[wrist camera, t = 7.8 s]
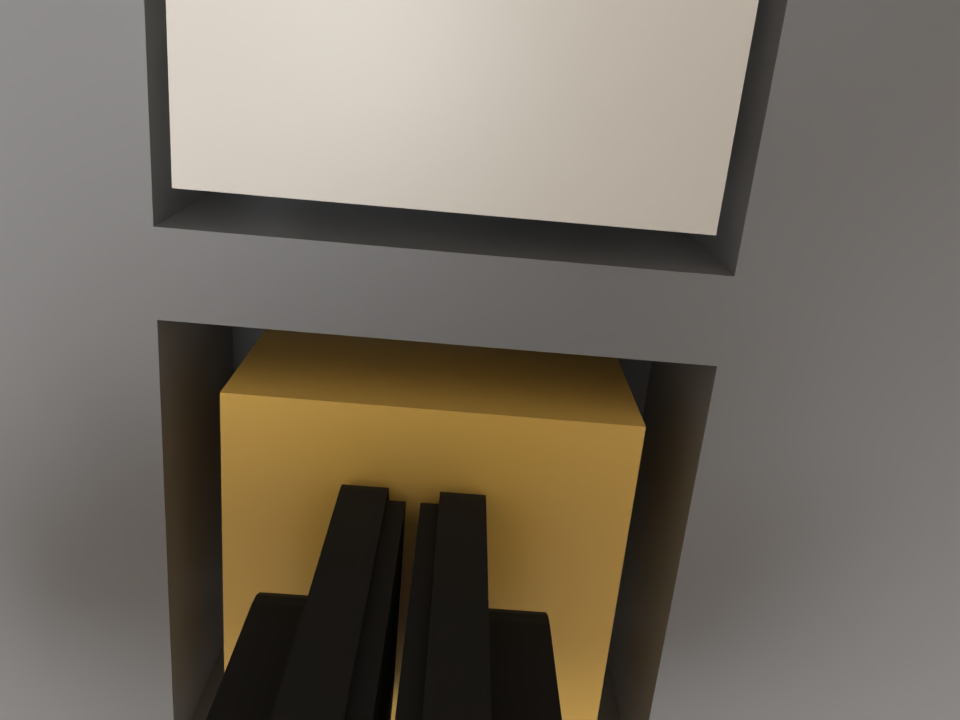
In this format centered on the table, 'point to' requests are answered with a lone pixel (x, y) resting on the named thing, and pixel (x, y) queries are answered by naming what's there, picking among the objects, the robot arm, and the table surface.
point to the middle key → (464, 104)
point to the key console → (509, 325)
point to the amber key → (437, 474)
